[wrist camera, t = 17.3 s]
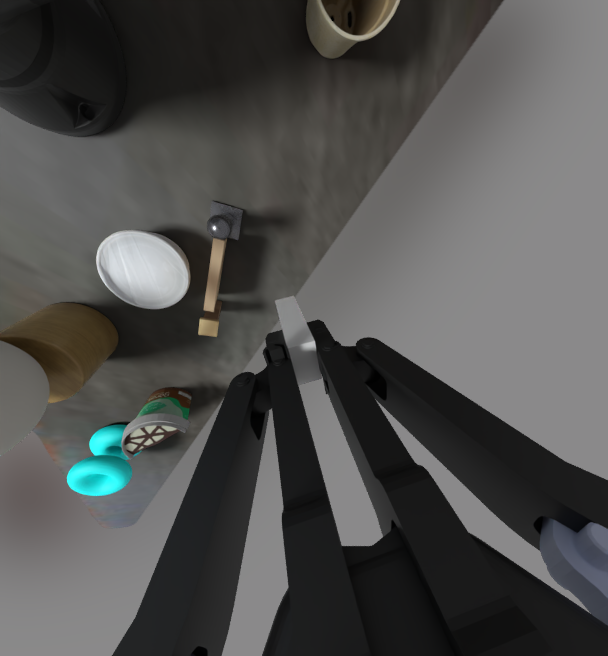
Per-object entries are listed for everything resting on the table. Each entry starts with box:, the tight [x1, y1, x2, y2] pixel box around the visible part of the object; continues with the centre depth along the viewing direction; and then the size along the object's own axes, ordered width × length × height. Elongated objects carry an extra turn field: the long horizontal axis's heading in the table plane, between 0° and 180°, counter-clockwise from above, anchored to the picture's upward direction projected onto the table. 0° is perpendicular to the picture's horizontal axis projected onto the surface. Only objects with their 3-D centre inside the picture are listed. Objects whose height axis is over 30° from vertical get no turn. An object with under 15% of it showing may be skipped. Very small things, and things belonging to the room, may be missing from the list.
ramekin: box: [96, 230, 190, 309], centre depth 34 cm, size 11×11×5 cm
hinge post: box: [207, 201, 243, 240], centre depth 31 cm, size 4×4×11 cm
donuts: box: [67, 424, 142, 496], centre depth 47 cm, size 10×10×10 cm
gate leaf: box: [204, 238, 227, 312], centre depth 35 cm, size 10×1×7 cm, turn 162°
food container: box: [121, 387, 192, 460], centre depth 44 cm, size 12×6×10 cm, turn 115°
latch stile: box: [198, 300, 222, 337], centre depth 38 cm, size 3×3×9 cm
